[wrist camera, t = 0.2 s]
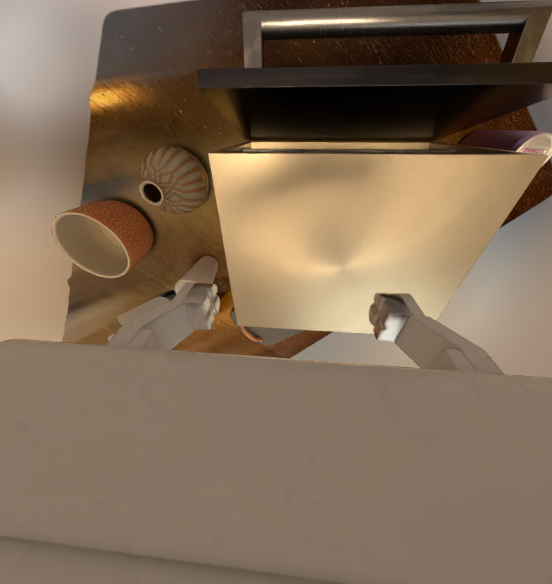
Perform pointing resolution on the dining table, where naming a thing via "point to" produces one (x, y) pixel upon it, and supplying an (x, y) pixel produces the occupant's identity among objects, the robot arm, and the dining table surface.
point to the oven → (357, 225)
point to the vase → (173, 180)
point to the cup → (200, 272)
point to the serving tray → (265, 333)
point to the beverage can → (512, 141)
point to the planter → (103, 237)
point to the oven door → (382, 74)
